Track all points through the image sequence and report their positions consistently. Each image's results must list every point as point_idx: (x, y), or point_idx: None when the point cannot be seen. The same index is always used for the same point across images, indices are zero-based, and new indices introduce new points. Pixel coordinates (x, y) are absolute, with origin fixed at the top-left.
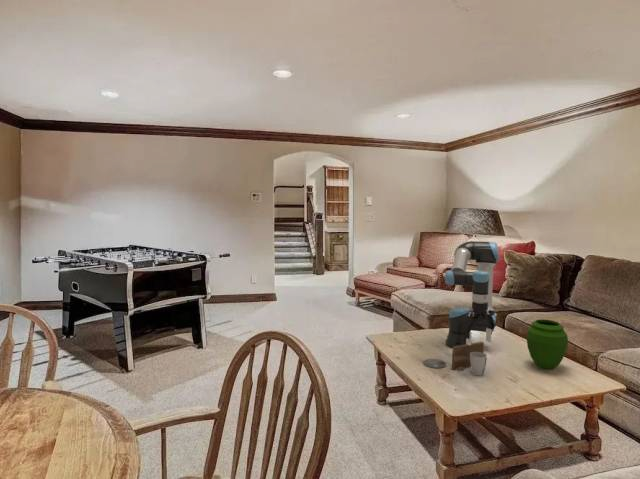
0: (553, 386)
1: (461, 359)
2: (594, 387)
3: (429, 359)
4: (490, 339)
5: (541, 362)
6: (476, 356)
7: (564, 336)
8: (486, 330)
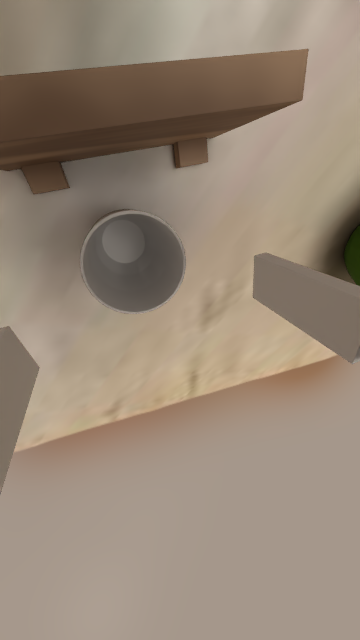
0: (267, 348)
1: (51, 155)
2: (324, 353)
3: None
4: (268, 304)
5: (353, 273)
6: (146, 216)
7: None
8: (339, 294)
